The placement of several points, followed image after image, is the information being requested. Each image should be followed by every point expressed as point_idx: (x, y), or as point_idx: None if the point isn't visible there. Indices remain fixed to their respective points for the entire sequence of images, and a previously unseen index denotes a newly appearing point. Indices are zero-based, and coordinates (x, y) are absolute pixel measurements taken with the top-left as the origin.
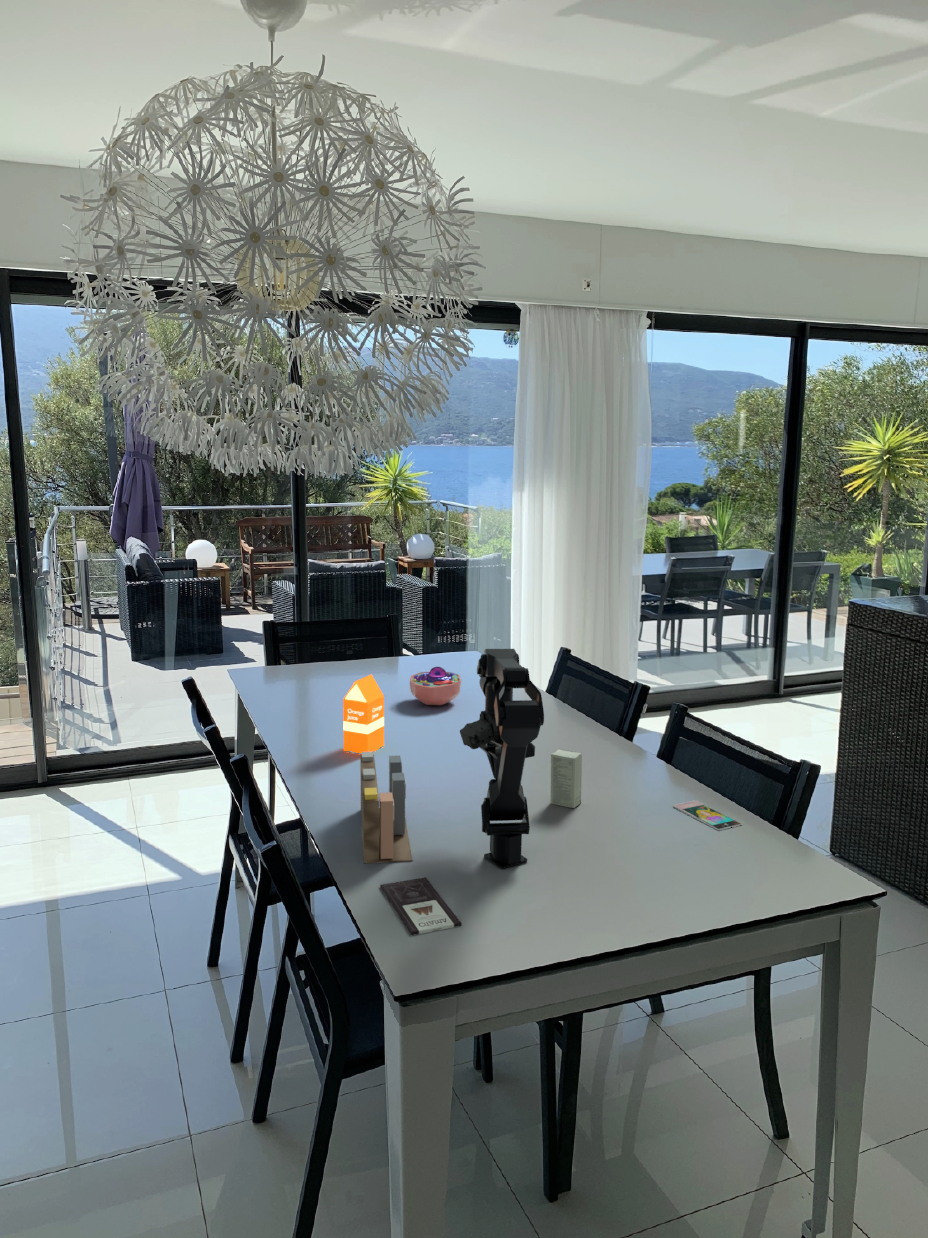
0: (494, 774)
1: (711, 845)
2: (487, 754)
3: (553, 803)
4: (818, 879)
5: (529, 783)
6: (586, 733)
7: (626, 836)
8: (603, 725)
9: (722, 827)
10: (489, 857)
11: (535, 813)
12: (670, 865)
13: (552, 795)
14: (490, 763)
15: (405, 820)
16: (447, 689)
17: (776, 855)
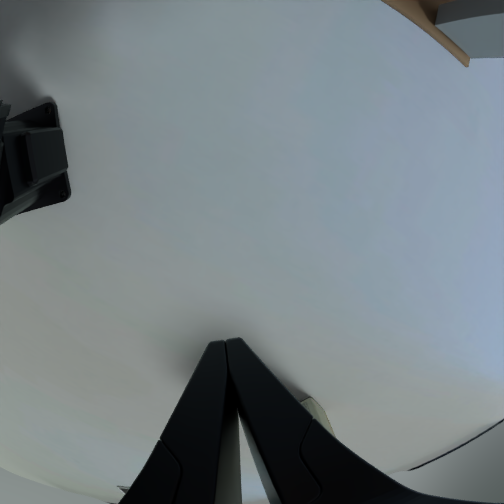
0: (226, 360)
1: (75, 467)
2: (374, 496)
3: (303, 401)
4: (10, 463)
5: (406, 383)
6: (441, 446)
7: (109, 431)
8: (438, 456)
9: (123, 490)
10: (31, 114)
11: (280, 359)
12: (12, 413)
13: (311, 413)
14: (290, 423)
15: (401, 11)
16: None
17: (54, 477)
